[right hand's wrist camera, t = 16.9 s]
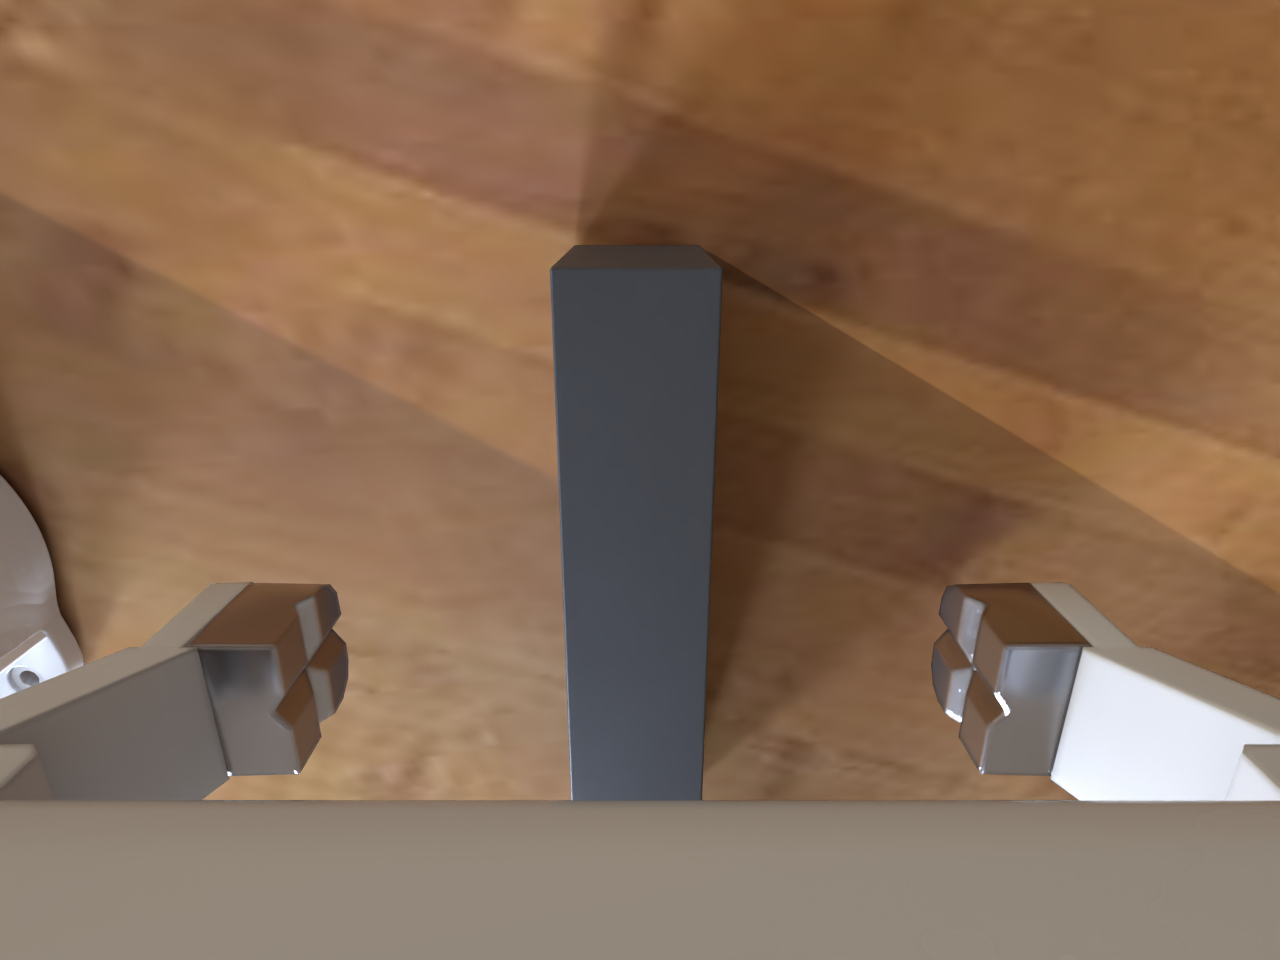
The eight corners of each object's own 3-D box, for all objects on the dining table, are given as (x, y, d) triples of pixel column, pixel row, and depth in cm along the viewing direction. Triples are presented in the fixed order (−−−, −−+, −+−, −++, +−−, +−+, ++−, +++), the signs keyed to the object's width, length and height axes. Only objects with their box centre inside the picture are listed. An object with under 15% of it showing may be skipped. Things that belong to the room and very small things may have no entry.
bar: (573, 245, 30) (549, 267, 22) (699, 245, 30) (723, 267, 22) (589, 790, 39) (576, 944, 31) (684, 790, 39) (696, 944, 31)
